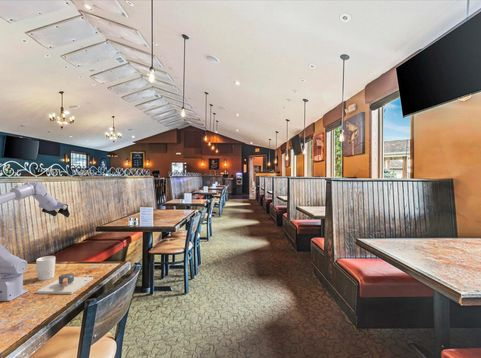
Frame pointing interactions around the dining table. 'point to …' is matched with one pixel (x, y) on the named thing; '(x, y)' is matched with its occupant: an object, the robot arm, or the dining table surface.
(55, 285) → the joystick base
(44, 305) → the dining table surface
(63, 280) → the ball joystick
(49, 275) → the white cup
